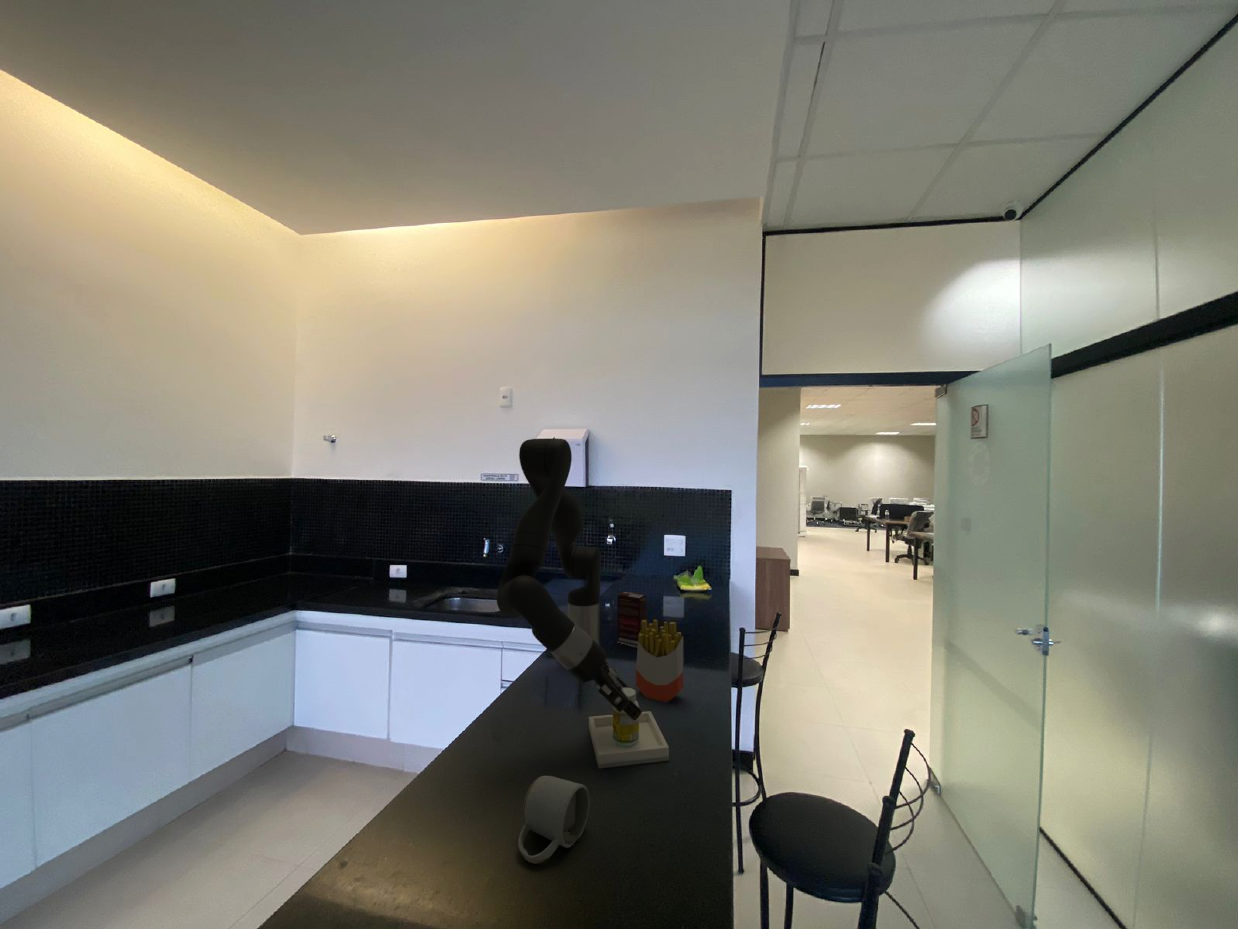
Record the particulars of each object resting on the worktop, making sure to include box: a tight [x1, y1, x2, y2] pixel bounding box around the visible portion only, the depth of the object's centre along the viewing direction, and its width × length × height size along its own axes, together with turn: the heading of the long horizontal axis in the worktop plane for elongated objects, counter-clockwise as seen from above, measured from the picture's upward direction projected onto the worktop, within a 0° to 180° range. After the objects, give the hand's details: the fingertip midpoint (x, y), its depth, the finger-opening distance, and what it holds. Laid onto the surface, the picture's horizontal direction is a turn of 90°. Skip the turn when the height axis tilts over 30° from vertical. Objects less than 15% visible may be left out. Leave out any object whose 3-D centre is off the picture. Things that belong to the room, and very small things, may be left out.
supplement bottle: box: [612, 687, 640, 746], centre depth 94 cm, size 5×5×10 cm
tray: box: [588, 710, 670, 769], centre depth 94 cm, size 14×14×2 cm
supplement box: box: [616, 591, 648, 649], centre depth 148 cm, size 9×5×16 cm, turn 58°
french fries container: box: [635, 619, 684, 703], centre depth 114 cm, size 5×11×18 cm, turn 66°
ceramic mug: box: [517, 775, 590, 860], centre depth 69 cm, size 11×8×8 cm
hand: (633, 705), depth 94 cm, fingers open, 8 cm apart
